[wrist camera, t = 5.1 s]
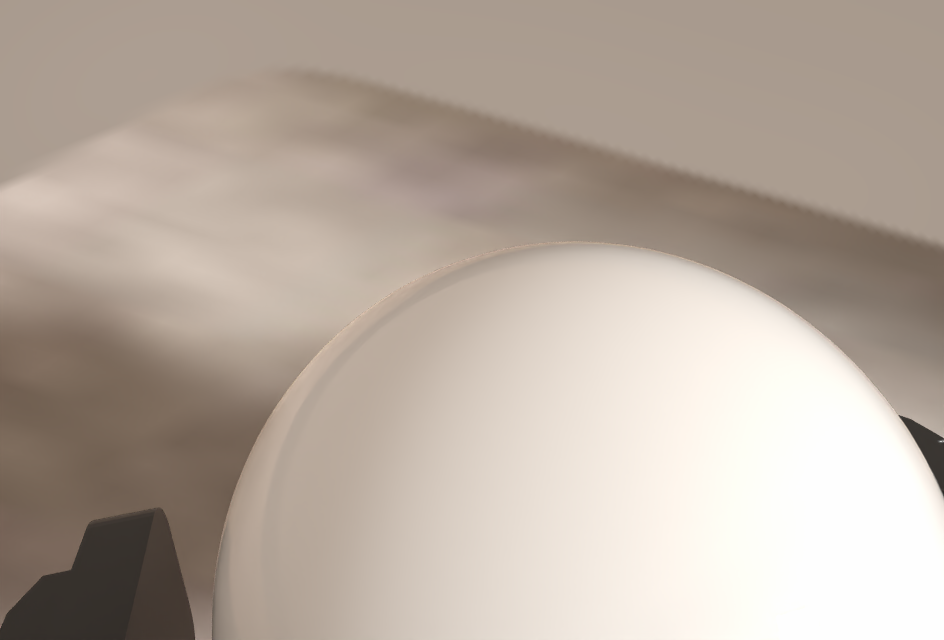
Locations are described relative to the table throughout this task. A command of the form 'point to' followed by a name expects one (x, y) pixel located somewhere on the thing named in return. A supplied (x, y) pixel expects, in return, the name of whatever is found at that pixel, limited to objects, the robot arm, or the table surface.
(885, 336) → the table surface
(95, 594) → the robot arm
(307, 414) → the lightbulb
